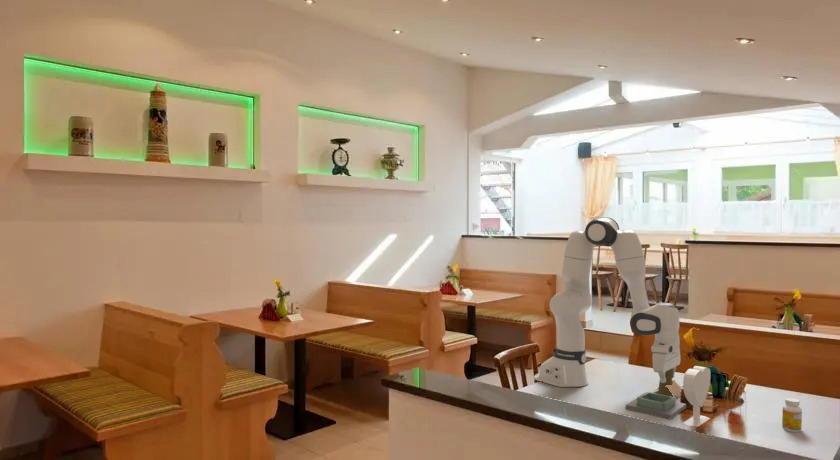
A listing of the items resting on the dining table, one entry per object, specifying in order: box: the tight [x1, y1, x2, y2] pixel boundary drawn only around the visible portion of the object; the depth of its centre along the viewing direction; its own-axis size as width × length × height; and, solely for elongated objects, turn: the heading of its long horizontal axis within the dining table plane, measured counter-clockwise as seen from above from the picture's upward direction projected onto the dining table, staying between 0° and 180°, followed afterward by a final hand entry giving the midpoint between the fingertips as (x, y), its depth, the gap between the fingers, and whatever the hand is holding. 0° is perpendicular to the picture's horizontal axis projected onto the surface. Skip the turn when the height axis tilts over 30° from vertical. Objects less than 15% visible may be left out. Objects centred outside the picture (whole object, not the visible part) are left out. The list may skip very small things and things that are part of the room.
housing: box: [625, 391, 687, 420], centre depth 217 cm, size 16×16×4 cm
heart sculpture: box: [682, 365, 712, 428], centre depth 204 cm, size 16×5×18 cm, turn 136°
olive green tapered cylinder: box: [657, 369, 674, 397], centre depth 233 cm, size 6×6×11 cm
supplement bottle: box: [781, 397, 803, 432], centre depth 197 cm, size 5×5×10 cm
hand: (667, 380), depth 233 cm, fingers open, 8 cm apart
